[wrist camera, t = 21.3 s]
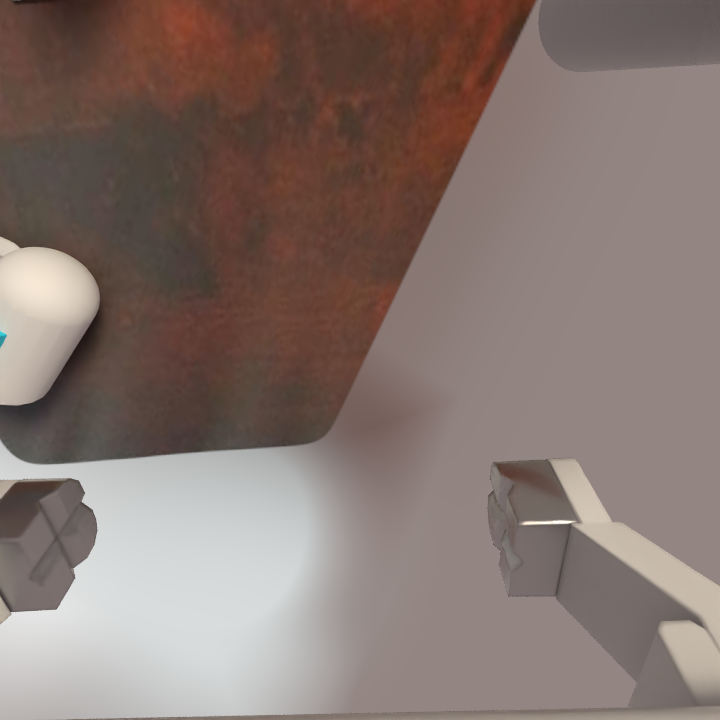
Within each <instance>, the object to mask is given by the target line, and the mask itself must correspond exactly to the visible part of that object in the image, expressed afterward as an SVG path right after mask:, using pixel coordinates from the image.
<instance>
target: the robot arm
mask: <svg viewBox="0 0 720 720" xmlns="http://www.w3.org/2000/svg"><path fill="white" fill-rule="evenodd" d="M490 480H491V483H492V486H493V489H494V490H493V491H492V492H491V494H489V496H488V522H489V528H490V533H491V537H492V541H493V545H494V546H495V547H497V548H498V549H499V550H500V561H499V566H500V570H501V573H502V577H503V580H504V583H505V587H506V590H507V594H508V596H556V599H557V600H558V601H559V602H560V603H561V604H562V605H563V606H564V608H565V609H566V610H567V611H569V613H570V614H571V615H572V616H573V617H574V618H575V619H576V620H577V621H578V622H579V623H580V624H581V625H582V626H583V627H584V628H585V629H586V630H587V631H588V632H589V633H590V635H591V636H592V637H593V638H594V639H595V640H596V641H597V642H598V643H599V644H600V645H601V646H602V647H603V648H604V649H605V650H606V651H607V652H608V653H609V654H610V655H611V656H612V657H613V658H614V659H615V660H616V661H617V662H618V664H619V665H620V666H621V667H622V668H623V669H624V670H625V671H626V672H627V673H628V674H629V675H630V676H631V677H632V678H633V679H634V680H635V681H636V682H637V684H636V686H635V689H634V692H633V694H632V697H631V699H630V702H629V705H628V707H627V708H592V709H590V708H589V709H541V710H496V711H495V710H493V711H447V712H400V713H399V712H397V713H353V714H352V713H350V714H304V715H257V716H213V717H212V716H209V717H166V718H165V717H163V718H117V719H72V720H720V587H719V586H718V585H717V584H715V583H713V582H712V581H710V580H709V579H707V578H706V577H704V576H703V575H701V574H700V573H698V572H696V571H695V570H693V569H692V568H690V567H689V566H687V565H686V564H684V563H683V562H681V561H680V560H678V559H677V558H675V557H673V556H672V555H670V554H669V553H667V552H666V551H664V550H662V549H661V548H660V547H658V546H657V545H655V544H654V543H652V542H651V541H649V540H648V539H646V538H644V537H643V536H641V535H640V534H638V533H637V532H635V531H633V530H632V529H630V528H629V527H628V526H626V525H625V524H623V523H621V522H612V521H611V519H610V517H609V515H608V514H607V512H606V510H605V509H604V507H603V505H602V503H601V502H600V500H599V498H598V496H597V495H596V493H595V491H594V489H593V488H592V486H591V484H590V482H589V481H588V479H587V477H586V476H585V474H584V472H583V470H582V469H581V467H580V465H579V463H578V462H577V461H576V460H575V459H574V458H559V459H546V460H530V461H509V462H493V464H492V467H491V475H490ZM84 494H85V492H84V491H83V488H82V486H81V484H80V482H79V481H78V480H74V479H71V478H66V479H23V480H0V624H1V623H2V622H3V621H5V620H6V619H7V618H8V617H9V616H10V615H11V612H21V611H38V610H55V609H57V608H58V606H59V605H60V603H61V601H62V599H63V598H64V596H65V594H66V593H67V591H68V589H69V588H70V586H71V584H72V582H73V581H74V579H75V574H74V569H73V568H74V567H76V566H77V565H78V564H80V563H81V562H82V561H83V560H85V559H86V558H87V557H88V555H89V554H90V552H91V550H92V548H93V546H94V543H95V538H96V534H97V523H96V518H95V515H94V513H93V510H92V509H90V508H89V507H88V506H86V505H85V504H84V503H82V502H81V501H82V499H83V496H84ZM69 720H71V719H69Z"/></svg>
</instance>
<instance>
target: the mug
mask: <svg viewBox="0 0 720 720" xmlns="http://www.w3.org/2000/svg"><path fill="white" fill-rule="evenodd" d="M99 304H100V294H99V288H98V286H97V283H96V281H95V279H94V277H93V276H92V274H91V273H90V272H89V271H88V270H87V268H86V267H85V266H84V265H83V264H81V263H80V262H79V261H77V260H76V259H74V258H73V257H71V256H69V255H67V254H65V253H63V252H60V251H57V250H54V249H50V248H44V247H27V248H19V247H18V246H17V245H16V244H15V243H13V242H11V241H9V240H7V239H5V238H2V237H0V405H22V404H28V403H32V402H34V401H36V400H38V399H40V398H42V397H43V396H44V395H45V394H46V393H47V392H48V391H49V390H50V388H51V386H52V385H53V383H54V382H55V380H56V378H57V377H58V375H59V374H60V372H61V370H62V369H63V367H64V366H65V364H66V362H67V361H68V359H69V358H70V356H71V354H72V353H73V351H74V350H75V348H76V346H77V345H78V343H79V341H80V340H81V338H82V337H83V335H84V333H85V332H86V330H87V329H88V327H89V325H90V324H91V322H92V321H93V319H94V317H95V316H96V314H97V311H98V309H99Z"/></svg>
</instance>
